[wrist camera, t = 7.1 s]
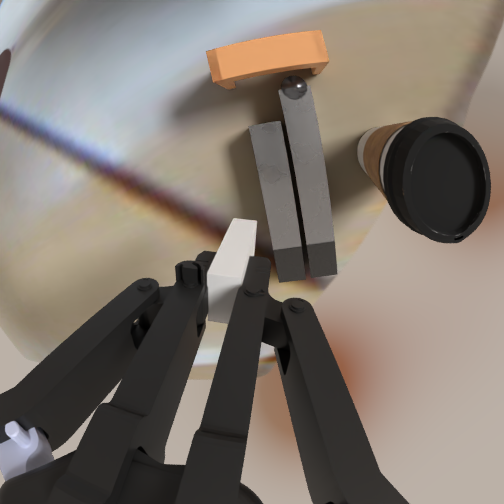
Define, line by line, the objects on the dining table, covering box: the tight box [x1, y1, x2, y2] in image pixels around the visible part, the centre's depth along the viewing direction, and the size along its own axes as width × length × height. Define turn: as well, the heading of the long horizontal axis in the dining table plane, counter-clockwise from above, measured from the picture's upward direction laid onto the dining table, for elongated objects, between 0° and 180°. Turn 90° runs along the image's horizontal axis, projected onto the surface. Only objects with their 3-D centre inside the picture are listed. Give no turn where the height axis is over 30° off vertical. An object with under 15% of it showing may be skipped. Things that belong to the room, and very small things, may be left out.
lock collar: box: [206, 30, 329, 90], centre depth 21 cm, size 3×10×6 cm, turn 102°
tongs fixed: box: [278, 76, 337, 278], centre depth 28 cm, size 21×3×3 cm, turn 12°
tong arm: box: [249, 121, 306, 283], centre depth 29 cm, size 17×3×3 cm, turn 11°
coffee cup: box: [357, 117, 491, 243], centre depth 20 cm, size 8×8×15 cm
